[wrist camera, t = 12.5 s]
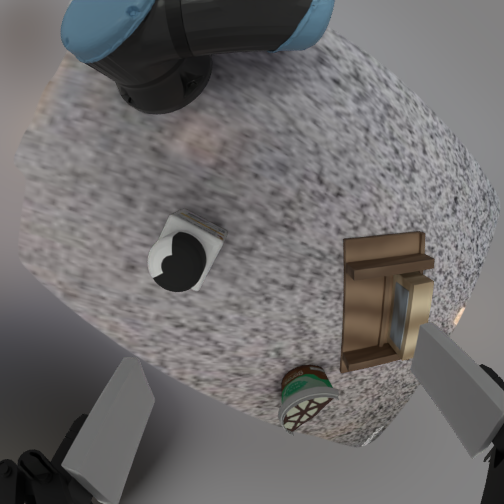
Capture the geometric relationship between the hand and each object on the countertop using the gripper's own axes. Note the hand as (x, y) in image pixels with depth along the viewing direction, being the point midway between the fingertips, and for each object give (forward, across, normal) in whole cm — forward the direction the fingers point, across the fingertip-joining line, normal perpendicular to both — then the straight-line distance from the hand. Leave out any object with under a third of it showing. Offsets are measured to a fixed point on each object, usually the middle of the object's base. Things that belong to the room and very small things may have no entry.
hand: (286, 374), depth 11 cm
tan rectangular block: (+31, +24, -15) cm, 42 cm away
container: (+32, -10, 0) cm, 33 cm away
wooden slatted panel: (+32, +20, -15) cm, 41 cm away
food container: (+32, +4, -28) cm, 43 cm away
